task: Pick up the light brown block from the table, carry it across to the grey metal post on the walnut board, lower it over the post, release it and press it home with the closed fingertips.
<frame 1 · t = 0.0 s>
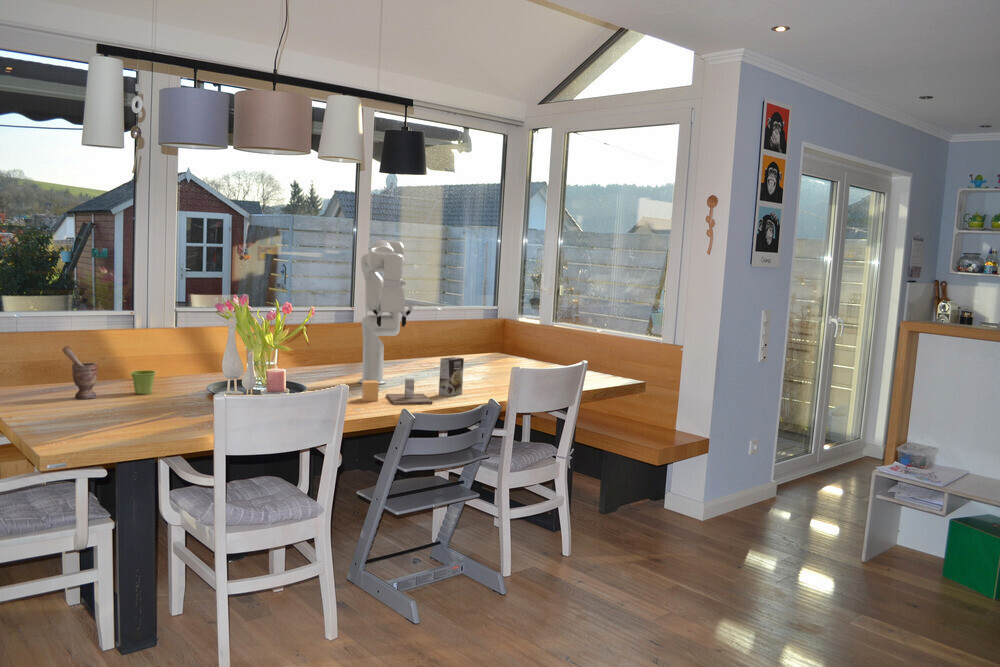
hand: (391, 326, 312), 31 cm above the table, tool pointing down, fingers open, 9 cm apart
post board: (408, 400, 321), on the table
plant pot: (143, 394, 309), on the table
light brown block: (369, 399, 318), on the table
coffee box: (450, 394, 339), on the table
mortar and pestle: (80, 398, 295), on the table
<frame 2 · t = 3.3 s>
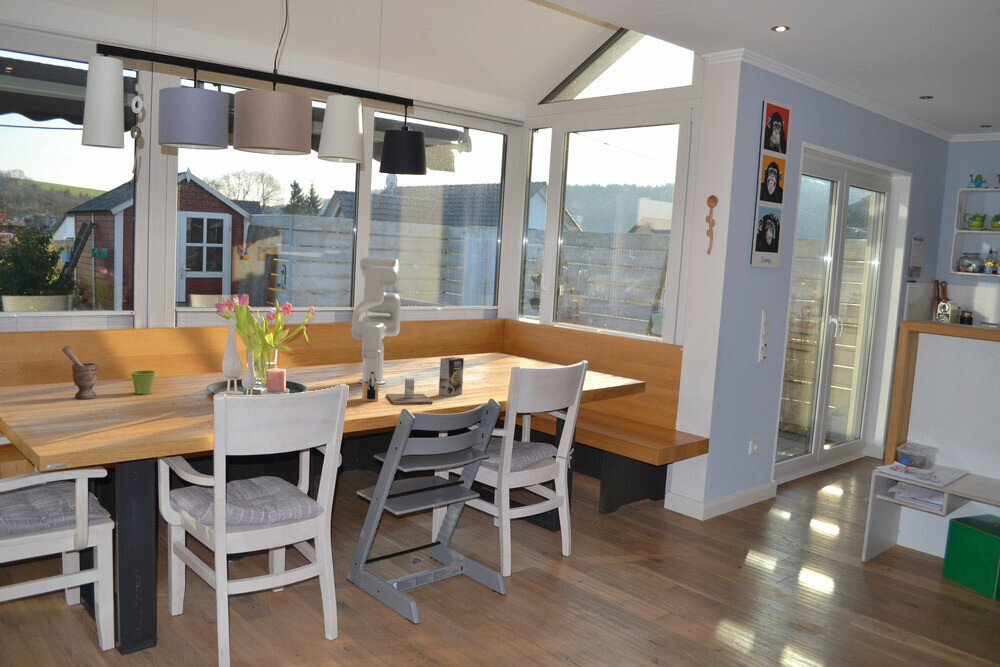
hand: (369, 396, 318), 1 cm above the table, tool pointing down, fingers closed on light brown block, 5 cm apart
light brown block: (369, 399, 318), on the table, touching gripper
everything else where it was.
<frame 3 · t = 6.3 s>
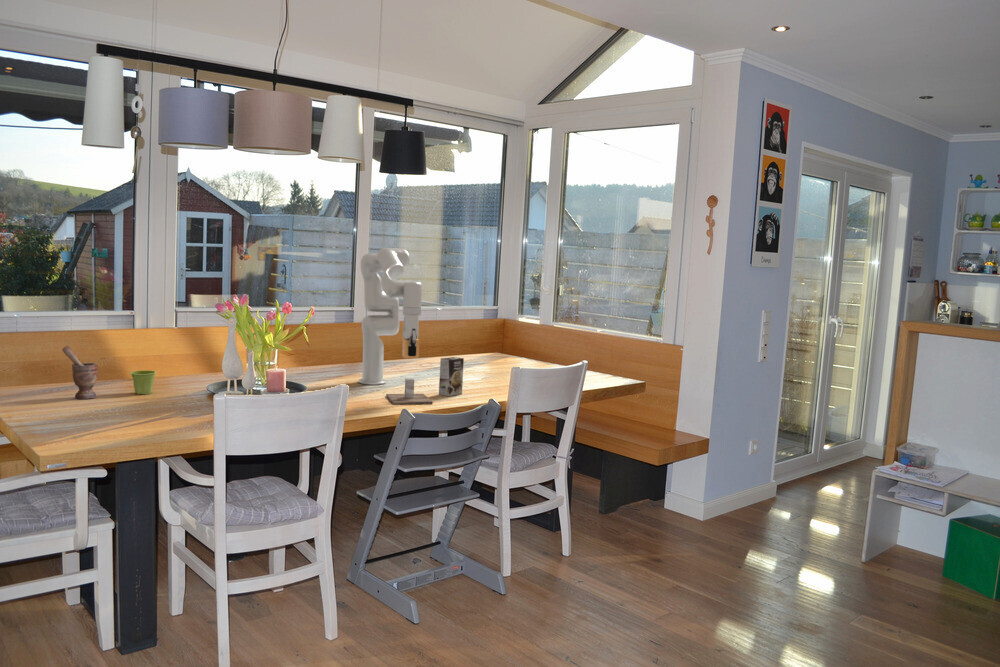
hand: (410, 354, 319), 19 cm above the table, tool pointing down, fingers closed on light brown block, 5 cm apart
light brown block: (410, 357, 319), point 18 cm above the table, touching gripper
everything else where it was.
when the fingers open (4 cm above the table, at t = 9.3 s): light brown block stays where it is, resting on post board.
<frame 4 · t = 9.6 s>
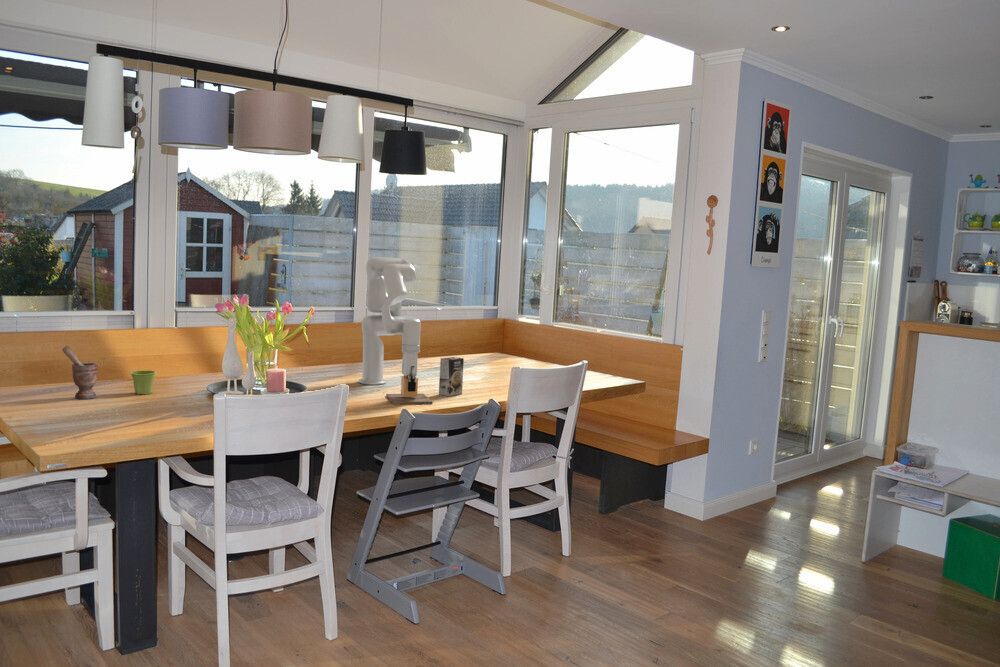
hand: (409, 389, 321), 5 cm above the table, tool pointing down, fingers open, 9 cm apart
light brown block: (409, 395, 321), point 2 cm above the table, touching post board
everything else where it was.
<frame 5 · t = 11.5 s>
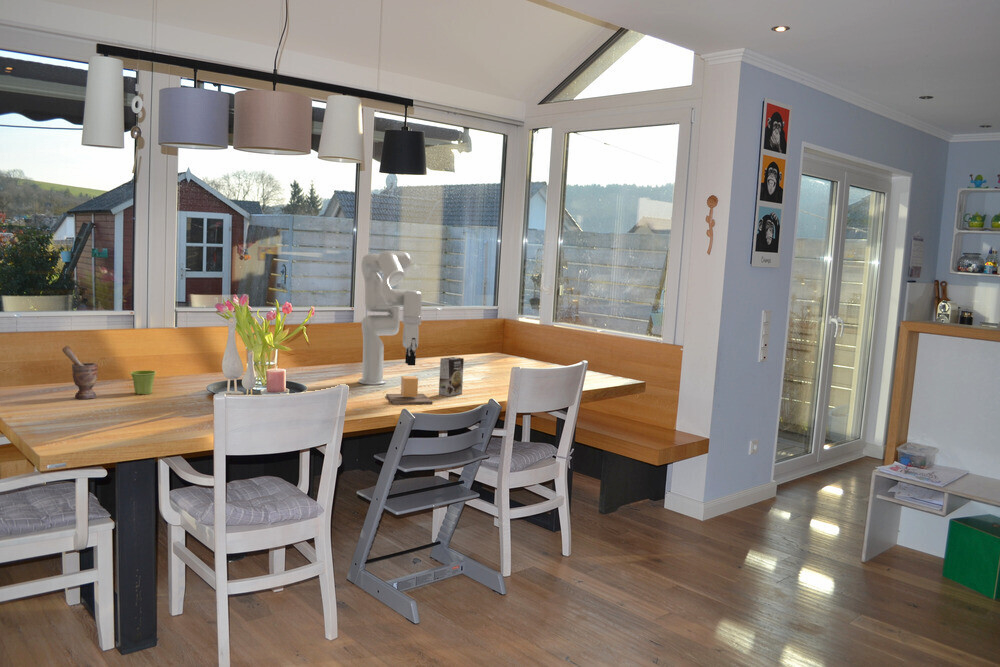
hand: (410, 364, 320), 15 cm above the table, tool pointing down, fingers open, 3 cm apart
nothing on the table moved.
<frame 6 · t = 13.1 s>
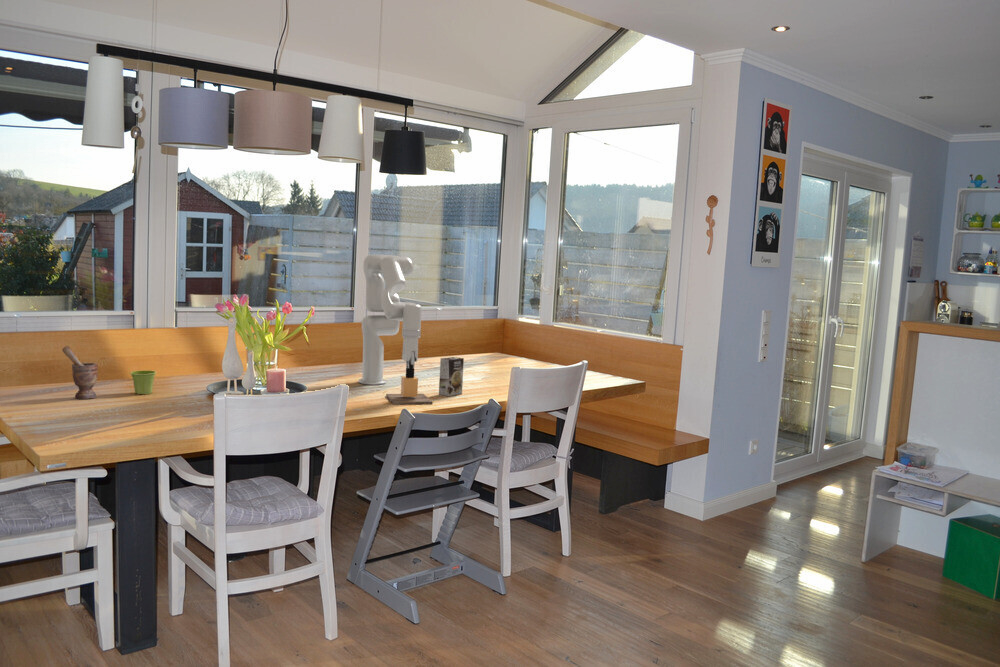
hand: (409, 377, 320), 10 cm above the table, tool pointing down, fingers closed
light brown block: (409, 395, 321), point 2 cm above the table, touching gripper, post board
everything else where it was.
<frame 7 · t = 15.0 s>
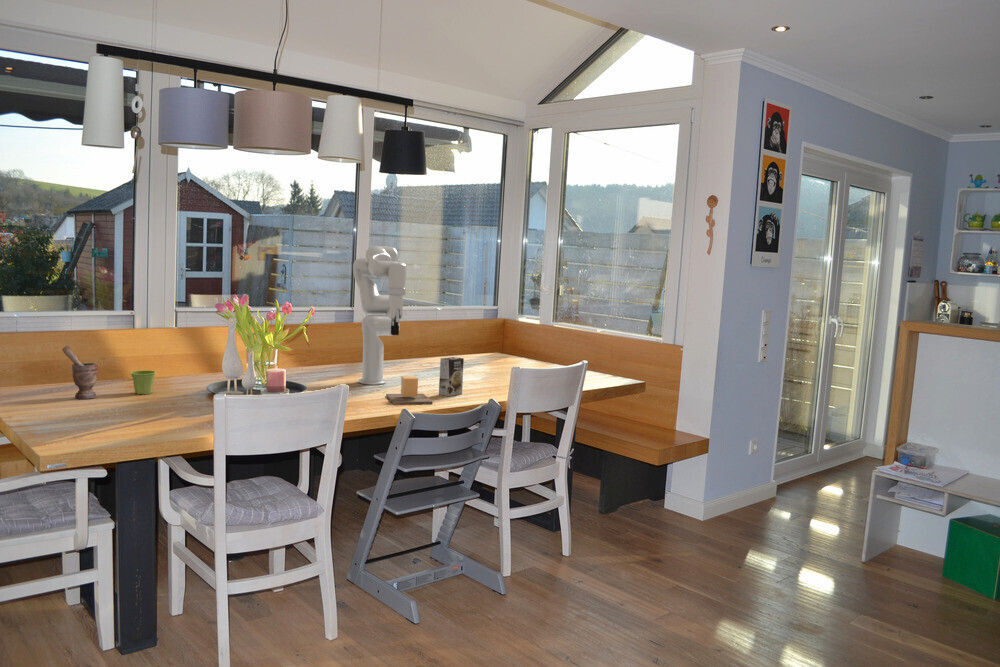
hand: (394, 334, 328), 26 cm above the table, tool pointing down, fingers closed
light brown block: (409, 395, 321), point 2 cm above the table, touching post board
everything else where it was.
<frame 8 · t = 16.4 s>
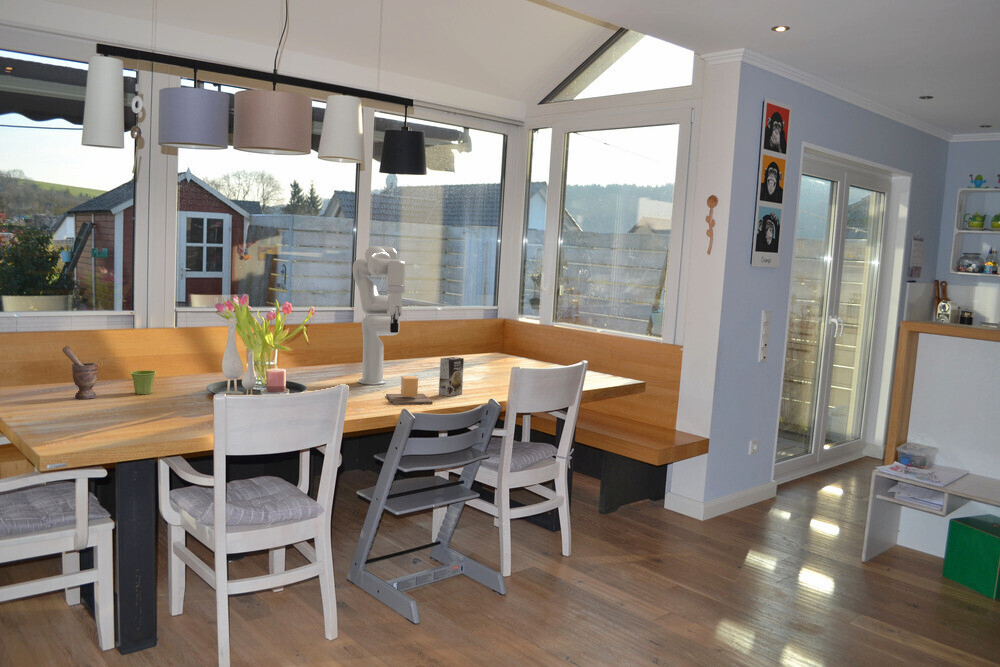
hand: (394, 332, 328), 27 cm above the table, tool pointing down, fingers closed
nothing on the table moved.
at the end: light brown block 0.1 cm from the post board (horizontally); light brown block point 2.0 cm above the table; light brown block tilted 0° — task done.
